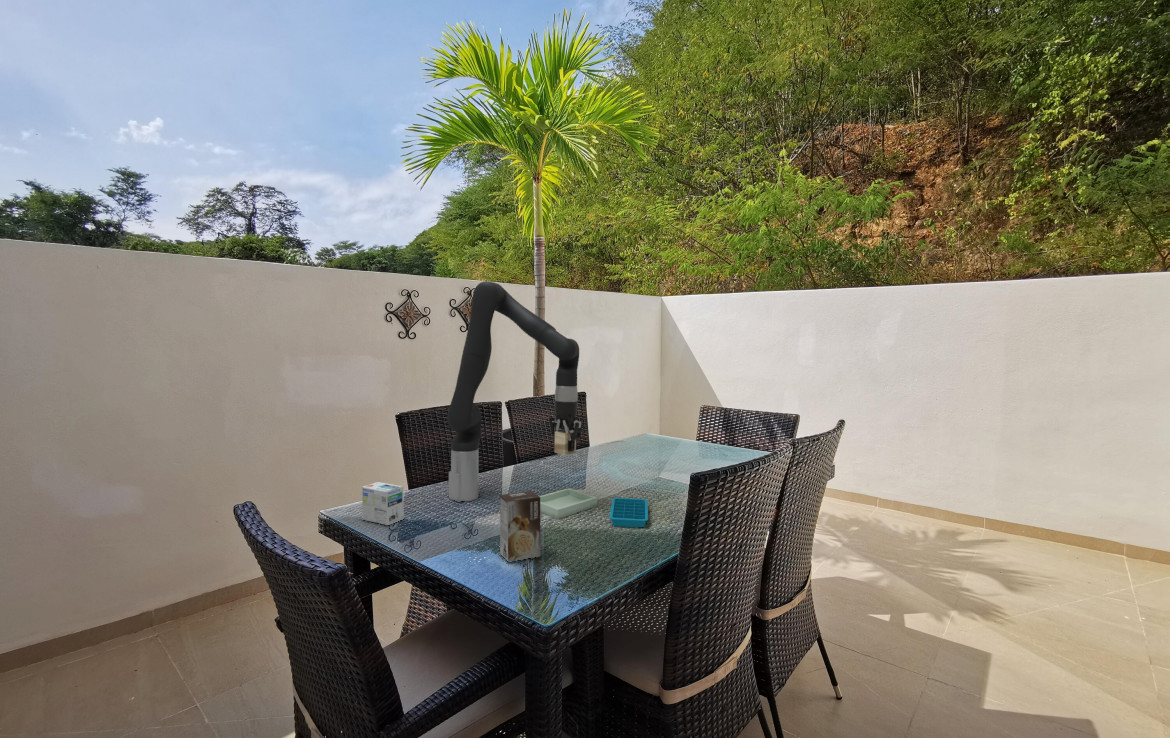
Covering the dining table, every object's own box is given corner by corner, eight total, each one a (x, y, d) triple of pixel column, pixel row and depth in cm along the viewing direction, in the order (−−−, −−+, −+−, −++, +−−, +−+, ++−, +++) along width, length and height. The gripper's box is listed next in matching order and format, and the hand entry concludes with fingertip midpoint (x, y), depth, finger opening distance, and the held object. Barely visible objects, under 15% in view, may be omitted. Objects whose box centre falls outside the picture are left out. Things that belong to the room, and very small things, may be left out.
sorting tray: (557, 519, 164) (557, 509, 164) (529, 507, 174) (529, 499, 174) (597, 506, 177) (597, 497, 177) (568, 496, 187) (568, 488, 187)
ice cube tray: (647, 507, 178) (647, 499, 177) (647, 530, 158) (648, 520, 157) (612, 506, 179) (612, 497, 179) (608, 528, 159) (609, 518, 159)
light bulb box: (404, 519, 162) (404, 485, 161) (388, 527, 156) (387, 491, 155) (378, 514, 166) (378, 480, 165) (361, 521, 160) (361, 486, 159)
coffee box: (531, 548, 143) (532, 489, 141) (541, 557, 137) (541, 496, 136) (499, 554, 138) (499, 494, 137) (507, 564, 133) (507, 501, 131)
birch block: (564, 455, 172) (565, 433, 171) (554, 452, 175) (554, 431, 175) (575, 452, 175) (576, 431, 175) (565, 450, 179) (565, 429, 178)
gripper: (543, 397, 176) (542, 447, 178) (573, 402, 166) (572, 455, 168) (559, 396, 182) (558, 444, 183) (589, 400, 172) (588, 452, 173)
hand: (565, 449), depth 175 cm, fingers closed on birch block, 5 cm apart
